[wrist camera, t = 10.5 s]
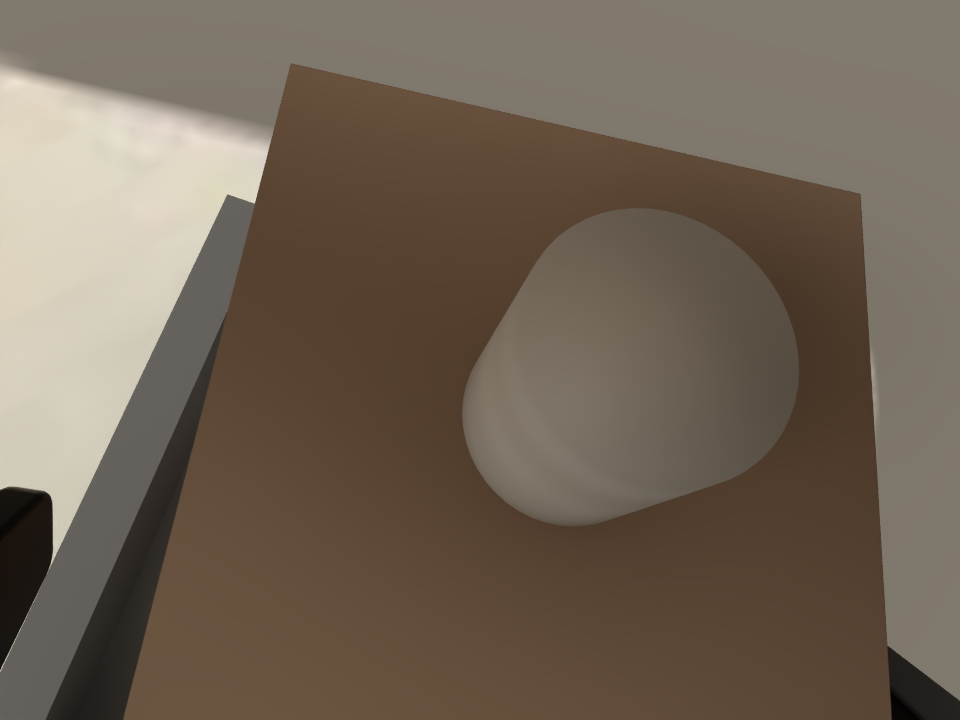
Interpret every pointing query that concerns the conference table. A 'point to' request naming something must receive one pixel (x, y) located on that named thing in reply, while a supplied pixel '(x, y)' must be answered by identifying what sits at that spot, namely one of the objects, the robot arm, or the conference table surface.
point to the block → (525, 436)
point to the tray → (126, 513)
